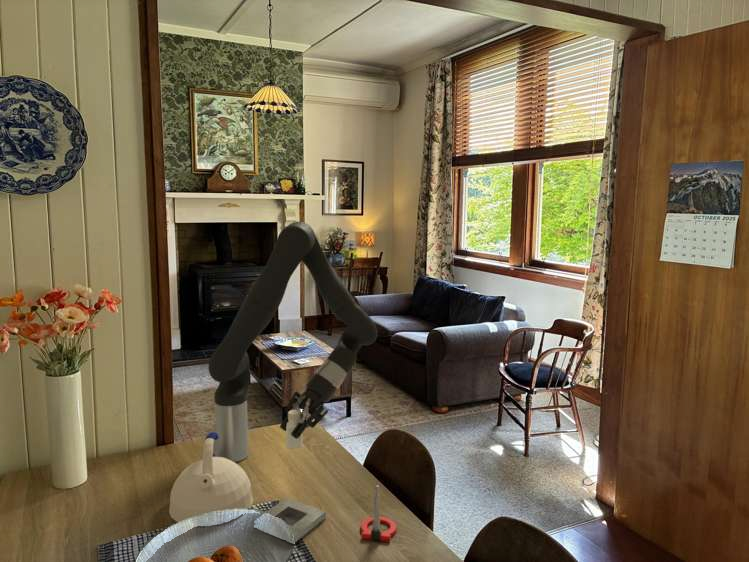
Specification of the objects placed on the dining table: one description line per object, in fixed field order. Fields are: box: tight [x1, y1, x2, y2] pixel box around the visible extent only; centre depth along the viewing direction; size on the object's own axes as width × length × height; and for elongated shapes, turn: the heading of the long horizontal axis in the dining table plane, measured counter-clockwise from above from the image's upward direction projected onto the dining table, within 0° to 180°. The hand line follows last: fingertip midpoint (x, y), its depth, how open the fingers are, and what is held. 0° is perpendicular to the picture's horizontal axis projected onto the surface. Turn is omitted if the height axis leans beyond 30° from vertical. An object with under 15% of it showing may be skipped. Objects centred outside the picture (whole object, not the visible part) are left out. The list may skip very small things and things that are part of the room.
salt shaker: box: [285, 410, 303, 450], centre depth 149 cm, size 4×4×10 cm
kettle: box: [168, 431, 254, 523], centre depth 141 cm, size 20×21×18 cm
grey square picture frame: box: [265, 497, 327, 543], centre depth 134 cm, size 12×12×2 cm
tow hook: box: [360, 485, 398, 543], centre depth 132 cm, size 8×13×9 cm
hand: (288, 432), depth 148 cm, fingers closed on salt shaker, 5 cm apart
